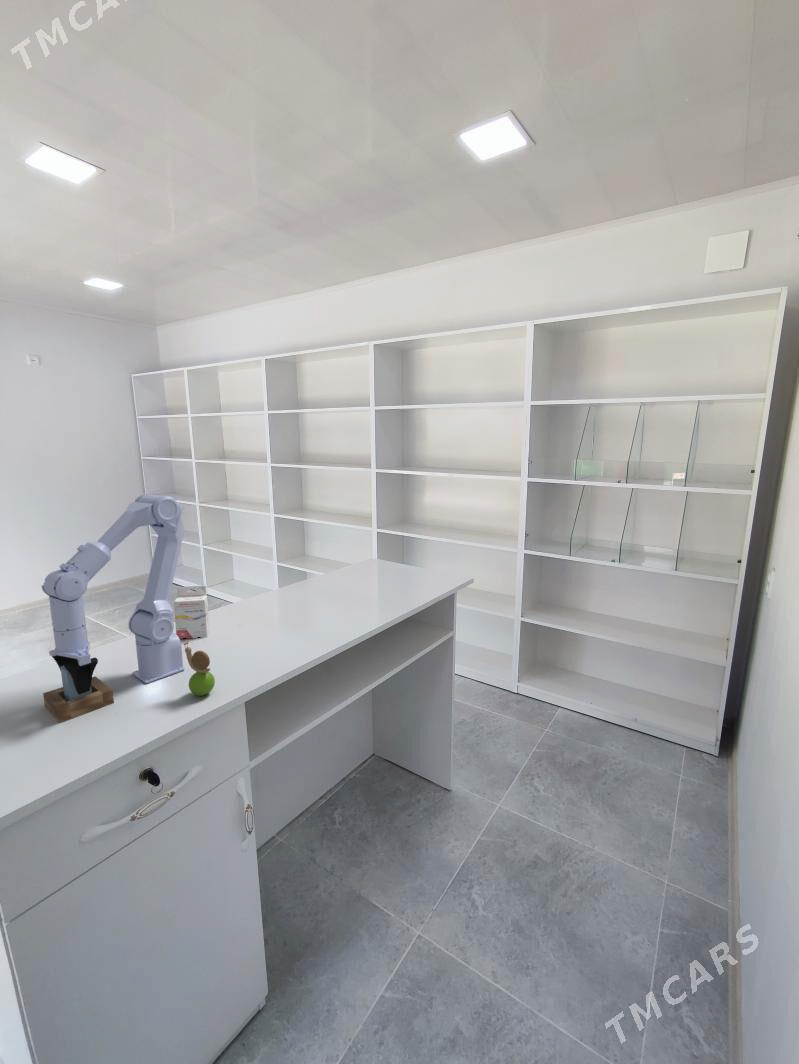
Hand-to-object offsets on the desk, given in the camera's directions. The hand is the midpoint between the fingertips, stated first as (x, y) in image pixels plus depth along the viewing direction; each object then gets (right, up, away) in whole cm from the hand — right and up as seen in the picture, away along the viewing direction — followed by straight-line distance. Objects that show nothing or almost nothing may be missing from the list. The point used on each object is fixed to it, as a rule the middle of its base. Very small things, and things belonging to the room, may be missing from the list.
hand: (77, 686), depth 102 cm
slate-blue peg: (0, -4, +1) cm, 4 cm away
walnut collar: (0, -4, +1) cm, 4 cm away
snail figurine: (+24, -4, +5) cm, 25 cm away
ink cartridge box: (+8, +2, +39) cm, 40 cm away
